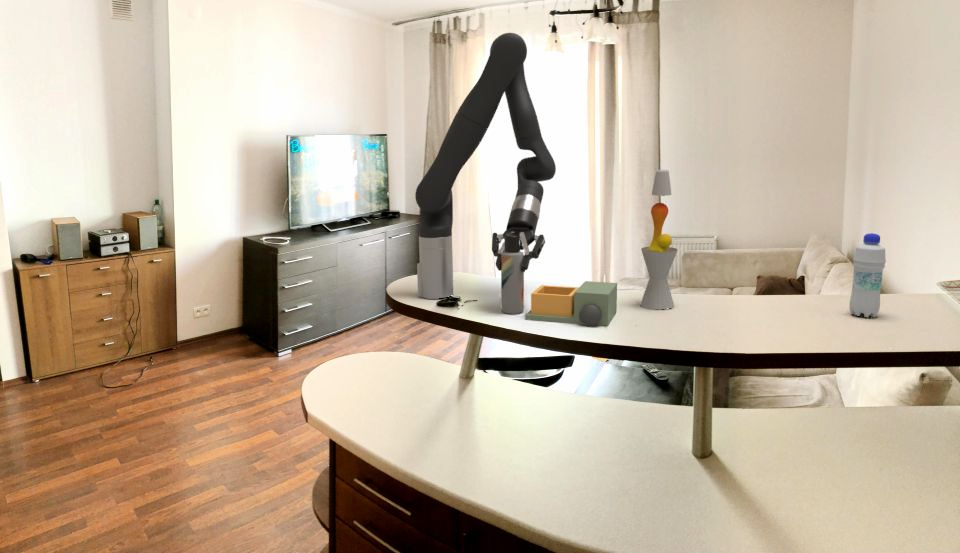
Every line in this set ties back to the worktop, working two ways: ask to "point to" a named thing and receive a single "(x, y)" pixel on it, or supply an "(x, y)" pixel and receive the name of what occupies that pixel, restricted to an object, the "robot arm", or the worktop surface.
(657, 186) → the lava lamp
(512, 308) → the lotion bottle
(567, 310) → the tray with knob box
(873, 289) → the bottle
